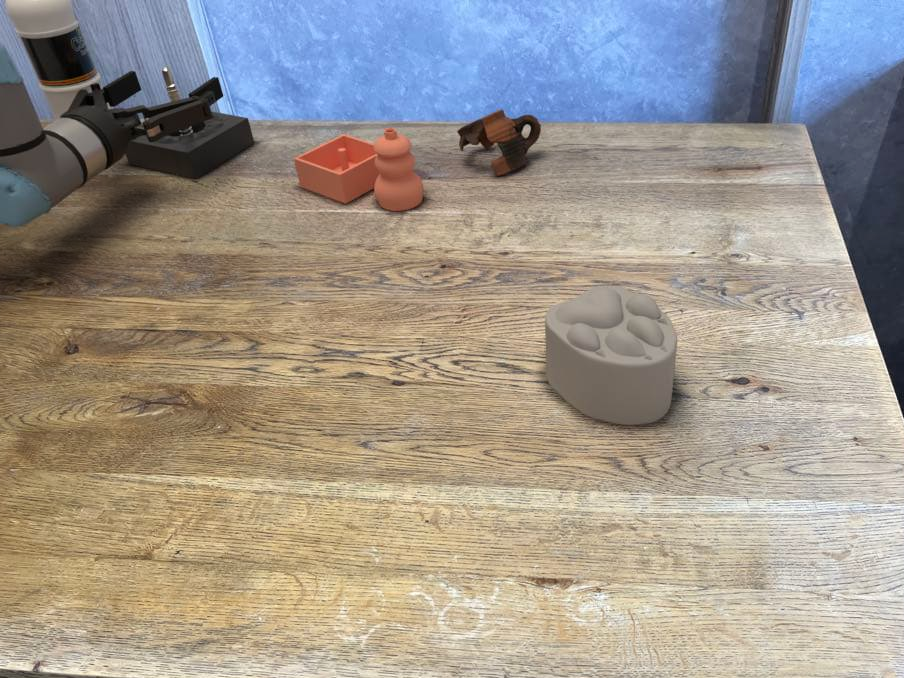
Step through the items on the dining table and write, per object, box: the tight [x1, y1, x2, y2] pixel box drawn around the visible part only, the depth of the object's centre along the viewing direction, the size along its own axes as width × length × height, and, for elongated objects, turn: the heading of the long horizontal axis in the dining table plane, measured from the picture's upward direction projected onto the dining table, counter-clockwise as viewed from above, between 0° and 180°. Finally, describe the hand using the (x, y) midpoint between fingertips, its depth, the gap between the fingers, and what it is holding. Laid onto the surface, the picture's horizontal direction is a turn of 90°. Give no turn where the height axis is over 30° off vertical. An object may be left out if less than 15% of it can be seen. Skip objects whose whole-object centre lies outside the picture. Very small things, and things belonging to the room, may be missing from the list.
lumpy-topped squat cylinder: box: [544, 285, 678, 426], centre depth 78 cm, size 10×13×9 cm
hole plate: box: [124, 110, 255, 180], centre depth 123 cm, size 13×13×4 cm
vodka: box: [5, 0, 113, 121], centre depth 118 cm, size 9×9×30 cm
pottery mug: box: [456, 109, 542, 177], centre depth 118 cm, size 12×10×8 cm
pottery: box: [293, 127, 424, 212], centre depth 110 cm, size 18×10×10 cm, turn 54°
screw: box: [161, 65, 195, 137], centre depth 120 cm, size 13×5×5 cm
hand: (177, 83), depth 119 cm, fingers open, 13 cm apart
